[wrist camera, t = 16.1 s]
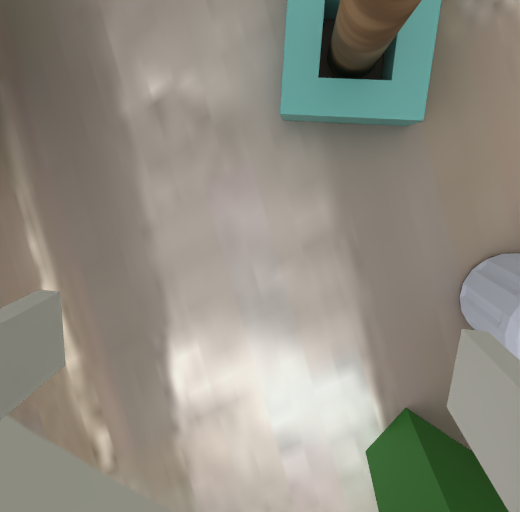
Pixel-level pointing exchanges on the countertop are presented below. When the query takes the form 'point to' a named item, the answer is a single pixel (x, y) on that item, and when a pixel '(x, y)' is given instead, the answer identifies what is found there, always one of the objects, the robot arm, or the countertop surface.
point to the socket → (357, 90)
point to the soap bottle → (495, 299)
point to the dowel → (365, 34)
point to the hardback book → (427, 471)
